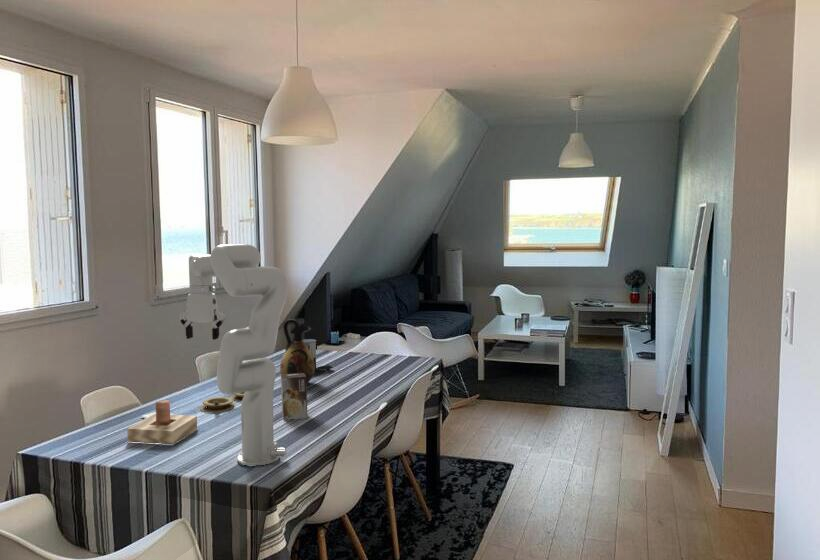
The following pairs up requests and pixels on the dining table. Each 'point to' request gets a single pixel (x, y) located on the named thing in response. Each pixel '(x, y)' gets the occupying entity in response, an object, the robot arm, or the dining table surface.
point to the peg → (163, 412)
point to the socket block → (162, 430)
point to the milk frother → (314, 352)
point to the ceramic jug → (297, 352)
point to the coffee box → (294, 396)
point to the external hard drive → (151, 415)
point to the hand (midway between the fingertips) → (202, 338)
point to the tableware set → (221, 403)
